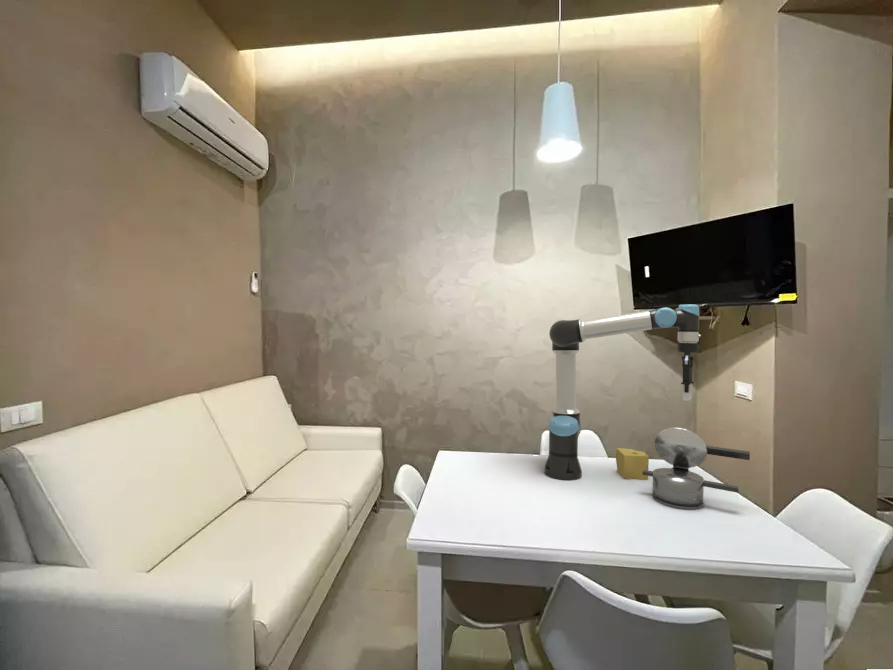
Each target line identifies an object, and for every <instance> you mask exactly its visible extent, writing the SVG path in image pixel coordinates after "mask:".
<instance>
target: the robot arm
mask: <svg viewBox="0 0 893 670" xmlns="http://www.w3.org/2000/svg"><path fill="white" fill-rule="evenodd" d="M666 328H667V329H668V328H669V329H670V328H672V329H673V328H674V329H675V328H676V329H677V342H678V343H677V351H678V352H680V353H683V356H681V361H682V382H681V383H680V385H682V401H686V402H687V401H688V402H691V400H692V396H693V395H692V390H693V389H692V388H693V387H692V386H693V385H694V381H693V367H694V360H695V356H693V353H698V352H699V350H700V349H699V347H700V344H699V343H698V342H699V339H700V337H701V336H702V335H701V334H700V333H699V332H700V306H699V305H698V304H689V303H688V304H687V303H686V304H679V305H678V308H677V309H672V308H670V307H667V306H666V307H661V308H654V309H648V310H643V311H638V312H631V313H625V314H619V315H613V316H606V317H600V318H594V319H589V320H582V319H579V318H578V319H569V320H566V319H561V320H557V321H555V322H554V323H553V324H552V325H551V326H550V329H549V334H548V335H549V338H550V341H551V343H552V346H551V347H552V348H551V349H552V350H551V351H552V352H553V353H554V354H555V385H556V386H555V388H556V390H555V392H556V393H555V394H556V399H555V401H556V406H555V408H554V409H553V410H552V414H553V415H552V417H551V418H550V419H549V423H548V430H549V431H548V435H549V436H548V456H547V458H546V461H545V463H544V464H545V465H544V467H543V468H544V474H545V475H546V476H548V477H549V478H553V479H557V480H562V481H563V480H564V481H565V480H566V481H573V480H579V479H580V478H582V476H583V475H582V474H583V471H582V467H581V463H580V459H579V457H578V456H579V455H578V449H579V448H578V446H579V445H578V443H579V437H580V434H581V432H582V431H581V430H582V423H581V411H580V410H579V409H578V408H577V373H576V372H577V369H576V368H577V367H576V365H577V364H576V363H577V361H576V360H577V357H576V356H577V354H578V352H579V351H580V344H581V343H584V342H585V341H586V340H591V339H597V338H603V337H608V336H609V337H610V336H617V335H623V334H629V333H637V332H643V331H649V330H650V331H651V330H657V329H666Z"/></svg>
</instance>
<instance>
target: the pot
mask: <svg viewBox="0 0 893 670" xmlns="http://www.w3.org/2000/svg"><path fill="white" fill-rule="evenodd" d="M643 475H647V476H648V477H652V493H651V498H652V499H653V500H654V501H655V502H657V503H659V504H660V505H663V506H666V507H669V508H672V509H678V510H686V511H687V510H688V511H689V510H690V511H692V510H693V511H695V510H700V509H702V508H704V506H705V504H704V503H705V500H704V488H705V487H706V488H710V489H715V490H720V491H727V492H730V493H731V492H733V493H737V494H738V493H739V486H738V485H733V484H727V483H723V482H722V483H721V482H717V481H711V480H706V479H704V477H703V476H702V475H700V474H697V473H696V472H693V471H691V470H690V469H689V470H683V469H677V468H673V467H660V468H656V469H654V470H649V469H648V470H643Z"/></svg>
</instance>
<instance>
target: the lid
mask: <svg viewBox="0 0 893 670" xmlns="http://www.w3.org/2000/svg"><path fill="white" fill-rule="evenodd" d="M654 448H655V451H656V454H657V455H658V456H659V457H660V458H661V459H662V460H663V461H665V462H666V463H668V464H670V465H672V468H677V469H683V470H690V469H691V468H695V467H698V466H699V465H701V464H703V462H705V460H706V458H707V455H712V456H718V457H723V458H731V459H732V458H733V459H739V460H744V461H750V458H751V457H750V456H751V451H748V450H741V449H733V448H727V447H718V446H712V445H707V444H706V442H705V441H704V440H703V438H702V437H701V436H700V435H698V434H697V433H695V432H694V431H691V430H690V429H687V428H684V427H678V426H677V427H675V426H674V427H668V428H665V429H663V430H661V431H659V432H658V433H657V435H656V437H655V440H654Z"/></svg>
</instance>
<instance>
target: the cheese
mask: <svg viewBox="0 0 893 670" xmlns="http://www.w3.org/2000/svg"><path fill="white" fill-rule="evenodd" d="M649 460H650V459H649V455H648V454H647V453H646V452H644V451H642V450H641V451H639V450H635V449H632V448H623V447H617V448H616V452H615V463H616V470H617V473H618V474H619V475H620V476H621V477H623V479H626V480H627V479H629V480H630V479H633V480H649V476H647V475H643V470H648V471H649V464H650V463H649V462H650V461H649Z"/></svg>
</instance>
